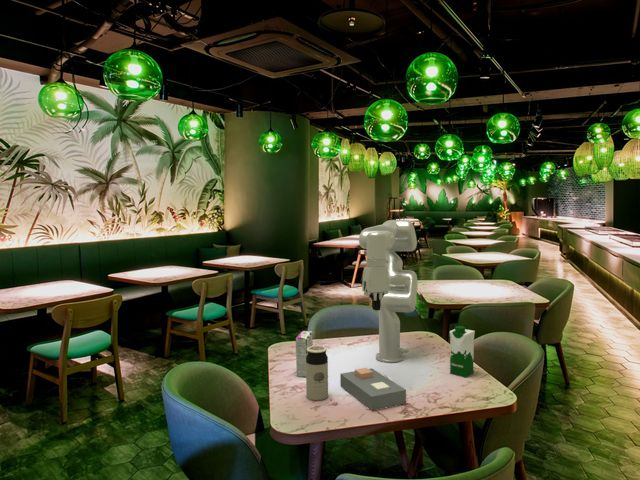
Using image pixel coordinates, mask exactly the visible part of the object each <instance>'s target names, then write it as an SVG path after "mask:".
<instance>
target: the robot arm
mask: <svg viewBox="0 0 640 480" xmlns="http://www.w3.org/2000/svg"><path fill="white" fill-rule="evenodd" d="M417 243H418V240H417V234H416V230H415V226H414V224H413V222H412V221H410V220H409V219H389V220H386V221H384V222H383V223H382V224H378V225H375V226H370V227H366V228H363V230H362V231H361V232H360V234H359V237H358V244H359V246H360V247H361V248H362V249H364V250H366V266H364V268H363V273H362V274H363V275H362V281H361V282H362V285H361V286H362V287H361V288H362V289H361V290H362V291H363V296H365V297H369V298H370V300H371V307H372V310H374V311H378V353H376V355H375V359H376V360H377V361H380V362H384V363H399V362H402V361H403V360H404V355H403V354H408V353H409V352H410V349H409V348H407V347H406V348H404V347H401V321H400V318H399V316H398V315H397V313H413V312H414V311H415V309H416V306H417V305H416V304H417V295H418V275H417V273H416V272H415V271H414V270H411V269H403V263H404V262H403V260H402V258H401V257H400V256H399V255H398V254H397V253H396V252H413V251H415V250H416V249H417V246H418V244H417Z"/></svg>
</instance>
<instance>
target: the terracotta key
mask: <svg viewBox="0 0 640 480" xmlns="http://www.w3.org/2000/svg"><path fill="white" fill-rule="evenodd" d="M369 369H370V368H368V367H363V368H357V369H354V371H355V376H356V377H358V378H359V379H361V380H362V379H367V378H373V372H372V371H371V370H369Z"/></svg>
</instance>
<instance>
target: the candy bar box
mask: <svg viewBox="0 0 640 480" xmlns="http://www.w3.org/2000/svg"><path fill="white" fill-rule="evenodd" d="M310 346H314V344H313V331H312V330H311V331H309V330H307V331H306V330H302V331H301V332H300V333H299V334H298V335H297V336H296V338H295V358H296V359H295V360H296V365H295V366H296V377H297V378H298V377H299V378H301V377H302V378H306V356H307V354H308V352H307V348H308V347H310Z"/></svg>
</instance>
